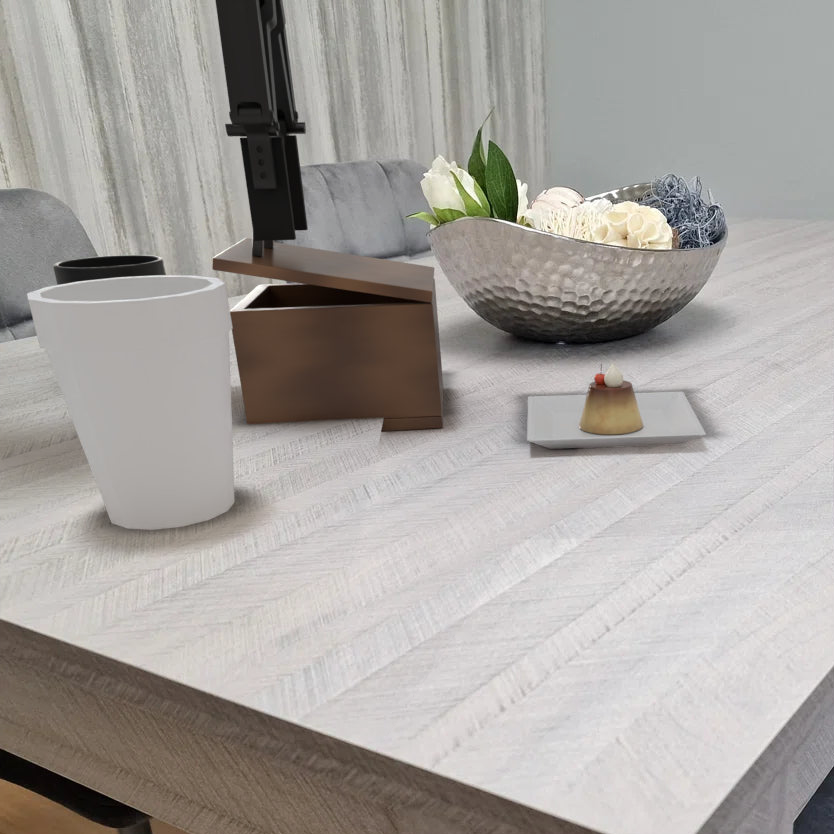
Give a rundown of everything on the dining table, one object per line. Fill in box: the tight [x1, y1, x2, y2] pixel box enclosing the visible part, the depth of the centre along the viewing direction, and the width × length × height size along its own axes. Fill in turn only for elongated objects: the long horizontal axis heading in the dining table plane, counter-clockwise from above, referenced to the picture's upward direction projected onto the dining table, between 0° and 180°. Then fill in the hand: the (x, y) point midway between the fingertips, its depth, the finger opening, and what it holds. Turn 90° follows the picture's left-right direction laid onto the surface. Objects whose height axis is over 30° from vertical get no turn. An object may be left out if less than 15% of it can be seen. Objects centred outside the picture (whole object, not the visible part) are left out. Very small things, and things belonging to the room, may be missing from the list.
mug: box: [52, 254, 167, 285], centre depth 97 cm, size 9×12×9 cm
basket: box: [230, 278, 444, 432], centre depth 79 cm, size 14×13×9 cm
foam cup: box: [26, 274, 236, 531], centre depth 56 cm, size 10×9×13 cm
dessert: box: [526, 363, 707, 450], centre depth 74 cm, size 12×12×5 cm
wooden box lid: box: [211, 130, 435, 303], centre depth 75 cm, size 15×13×9 cm
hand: (282, 234), depth 75 cm, fingers closed on wooden box lid, 6 cm apart
